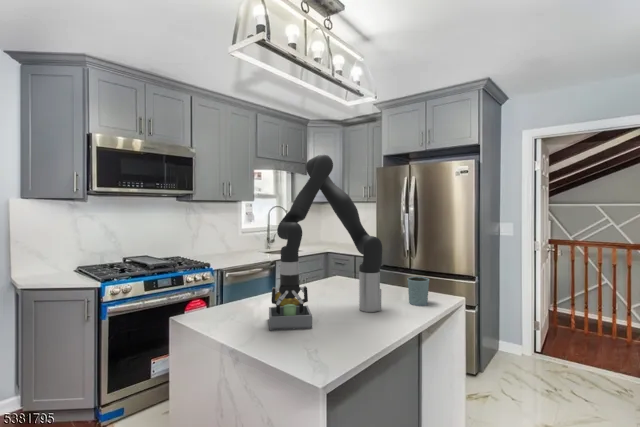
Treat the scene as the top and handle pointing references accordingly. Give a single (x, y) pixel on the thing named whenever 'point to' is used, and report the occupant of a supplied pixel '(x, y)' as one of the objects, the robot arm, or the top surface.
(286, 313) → the cucumber chunk
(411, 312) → the top surface
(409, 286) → the teal cup
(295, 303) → the potato
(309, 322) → the bin
